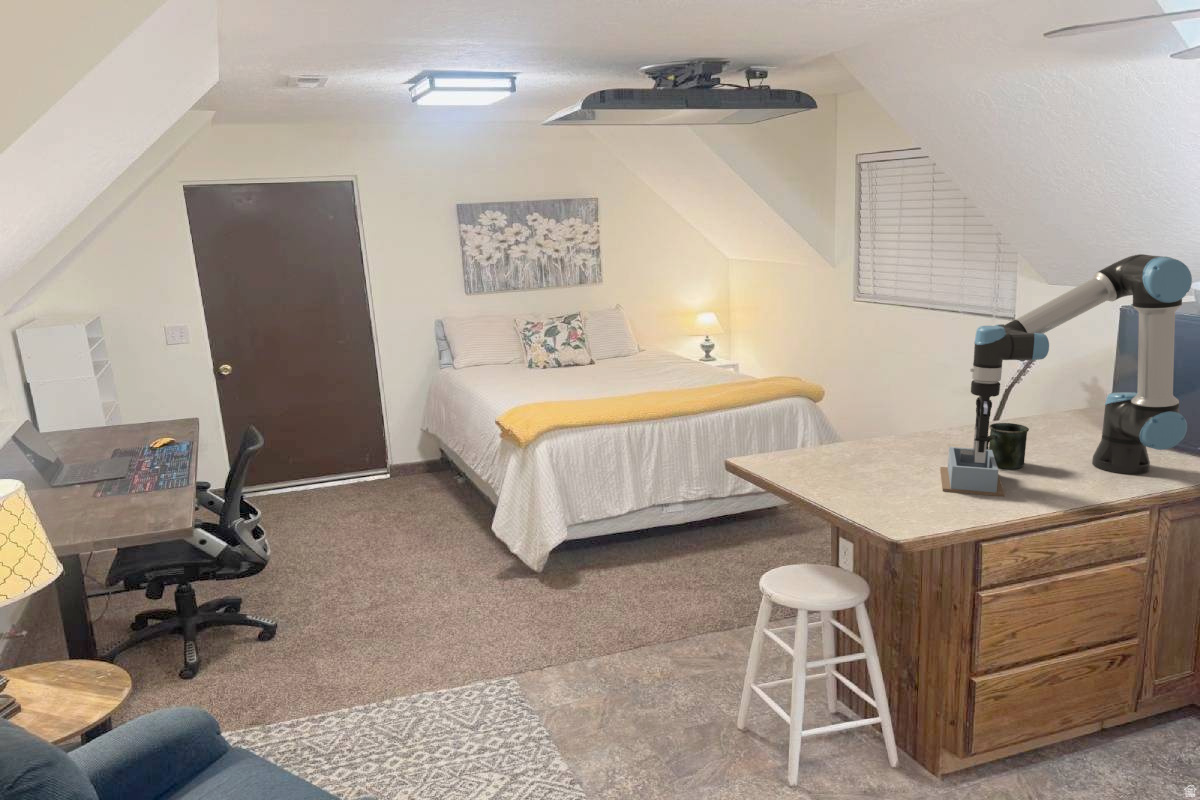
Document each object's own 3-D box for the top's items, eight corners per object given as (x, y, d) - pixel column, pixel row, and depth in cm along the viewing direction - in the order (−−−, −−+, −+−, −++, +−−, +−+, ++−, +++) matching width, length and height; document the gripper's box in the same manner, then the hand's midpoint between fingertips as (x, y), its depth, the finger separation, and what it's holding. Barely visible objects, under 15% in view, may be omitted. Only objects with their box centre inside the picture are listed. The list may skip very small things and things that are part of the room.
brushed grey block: (983, 459, 260) (986, 426, 258) (984, 464, 255) (987, 430, 253) (959, 457, 262) (962, 424, 260) (960, 462, 257) (963, 428, 255)
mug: (1033, 467, 273) (1037, 429, 270) (995, 473, 268) (999, 434, 265) (1006, 457, 283) (1009, 421, 280) (969, 463, 278) (972, 426, 275)
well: (997, 473, 267) (999, 450, 266) (1004, 496, 248) (1006, 471, 246) (940, 469, 272) (942, 446, 271) (942, 491, 253) (944, 466, 251)
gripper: (969, 373, 262) (963, 450, 268) (973, 386, 246) (966, 467, 251) (997, 375, 260) (990, 452, 265) (1003, 388, 243) (995, 469, 249)
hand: (978, 459), depth 258 cm, fingers closed on brushed grey block, 5 cm apart
